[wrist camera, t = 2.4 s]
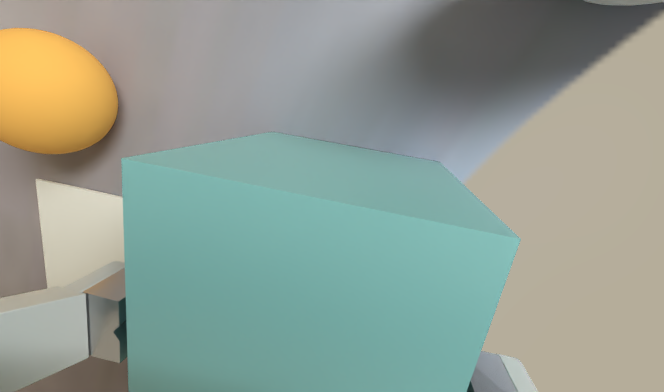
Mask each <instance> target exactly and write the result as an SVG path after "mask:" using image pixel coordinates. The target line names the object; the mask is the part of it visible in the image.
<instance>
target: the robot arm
mask: <svg viewBox="0 0 664 392" xmlns="http://www.w3.org/2000/svg"><path fill="white" fill-rule="evenodd" d="M89 356H93V357H97V358H101V359H105V360H109V361H113V362H117V363H121V362H122V361H123V360H124V359H125V358H126V357H127V324H126V291H125V263H124V262H120V261H113V262H111V263H109V264H107V265H105V266H103V267H101V268H99V269H97V270H95V271H94V272H92V273H90V274H88V275H86V276H84V277H82V278H80V279H78V280H76V281H74V282H72V283H71V284H69V285H67V286H65V287H63V288H62V287H58V286H57V287H52V288H47V289H42V290H37V291H32V292H27V293H22V294H17V295H12V296H7V297H3V298H0V392H15V391H17V390H19V389H22V388H24V387H26V386H28V385H30V384H32V383H35V382H37V381H39V380H41V379H43V378H45V377H48V376H50V375H52V374H54V373H56V372H58V371H61V370H63V369H65V368H67V367H69V366H71V365H74V364H76V363H78V362H80V361H82V360H85V359H87V358H89ZM467 392H538V391H537V389H536V387H535V386H534V384H533V382H532V380H531V378H530V377H529V375H528V373H527V371H526V370H525V368H524V366H523V364H522V363H521V361H519V360H518V359H517V358H514V357H509V356H505V355H500V354H492V353H488V352H484V351H481V352H480V355H479V358H478V361H477V364H476V366H475V369H474V372H473V375H472V378H471V380H470V383H469V386H468V389H467Z"/></svg>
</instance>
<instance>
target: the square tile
mask: <svg viewBox="0 0 664 392" xmlns="http://www.w3.org/2000/svg"><path fill="white" fill-rule="evenodd" d="M35 180H36V189H37V198H38V207H39V216H40V225H41V234H42V243H43V252H44V261H45V270H46V279H47V288H52V287H57V286H58V287H62V288H63V287H65V286H67V285H69V284H71V283H72V282H74V281H76V280H78V279H80V278H82V277H84V276H86V275H88V274H90V273H92V272H94V271H95V270H97V269H99V268H101V267H103V266H105V265H107V264H109V263H111V262H113V261H120V262H124V263H125V259H124V226H123V197H121V196H117V195H112V194H108V193H103V192H98V191H94V190H89V189H85V188H80V187H76V186H71V185H66V184H62V183H57V182H53V181H48V180H44V179H35Z"/></svg>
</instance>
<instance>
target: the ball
mask: <svg viewBox="0 0 664 392" xmlns="http://www.w3.org/2000/svg"><path fill="white" fill-rule="evenodd" d="M117 111H118V96H117V92H116V88H115V86H114V83H113V81H112V79H111V77H110V75H109V74H108V72H107V71H106V69H105V68H104V67H103V65H102V64H101V63H100V62H99V61H98V60H97V59H96V58H95V57H94V56H93V55H92V54H90V53H89V52H88V51H87V50H85V49H84V48H83V47H81V46H79V45H78V44H76V43H74V42H72V41H71V40H69V39H66V38H64V37H62V36H59V35H57V34H54V33H50V32H47V31H42V30H37V29H29V28H11V29H3V30H0V140H1V141H3V142H5V143H7V144H9V145H11V146H14V147H17V148H20V149H23V150H26V151H30V152H36V153H43V154H65V153H71V152H76V151H79V150H82V149H85V148H88V147H90V146H91V145H93V144H95V143H97V142H98V141H100V140H101V139H102V138H103V137H104V136H105V135H106V134H107V133H108V132H109V131H110V129H111V127H112V126H113V124H114V122H115V120H116V116H117Z"/></svg>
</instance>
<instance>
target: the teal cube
mask: <svg viewBox="0 0 664 392" xmlns="http://www.w3.org/2000/svg"><path fill="white" fill-rule="evenodd" d="M121 160H122V193H123V226H124V259H125V291H126V324H127V357H128V390H129V392H467V389H468V386H469V383H470V380H471V378H472V375H473V372H474V369H475V366H476V364H477V361H478V358H479V355H480V352H481V349H482V346H483V344H484V341H485V338H486V335H487V333H488V330H489V327H490V324H491V321H492V319H493V316H494V313H495V310H496V307H497V305H498V302H499V299H500V296H501V293H502V290H503V288H504V285H505V282H506V279H507V276H508V274H509V271H510V268H511V265H512V262H513V260H514V257H515V254H516V251H517V248H518V246H519V242H520V240H521V239H520V238H519V237H518V236H517V235H516V234H515V233H514V232H513V231H512V230H510V228H508V226H506V225H505V224H504V223H503V222H502V221H501V220H500V219H499V218H498V217H497V216H496V215H495V214H494V213H493V212H492V211H491V210H490V209H489V208H488V207H486V206H485V205H484V204H483V203H482V202H481V201H480V200H479V199H478V198H477V197H476V196H475V195H474V194H473V193H472V192H471V191H470V190H469V189H468V188H466V187H465V186H464V185H463V184H462V183H461V182H460V181H459V180H458V179H457V178H456V177H455V176H454V175H453V174H452V173H451V172H450V171H449V170H448V169H446V168H445V167H444V166H443V165H442V164H441V163H440V162H437V161H431V160H426V159H420V158H415V157H409V156H404V155H398V154H393V153H387V152H382V151H376V150H371V149H365V148H359V147H354V146H348V145H343V144H337V143H332V142H326V141H321V140H315V139H310V138H304V137H298V136H293V135H287V134H282V133H276V132H268V133H263V134H257V135H251V136H246V137H240V138H234V139H228V140H223V141H217V142H211V143H206V144H200V145H194V146H188V147H183V148H177V149H171V150H166V151H160V152H154V153H148V154H143V155H137V156H131V157H125V158H121Z"/></svg>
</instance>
